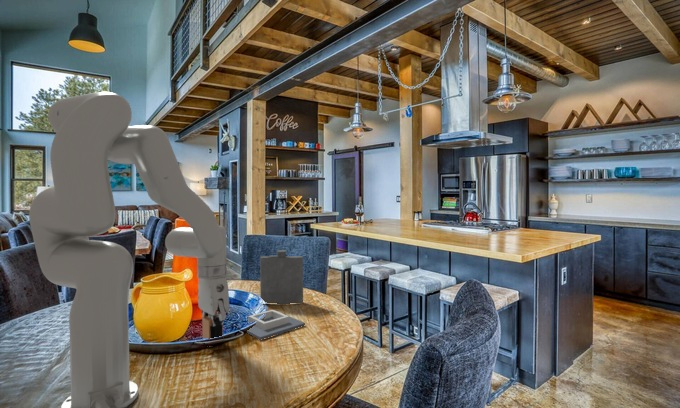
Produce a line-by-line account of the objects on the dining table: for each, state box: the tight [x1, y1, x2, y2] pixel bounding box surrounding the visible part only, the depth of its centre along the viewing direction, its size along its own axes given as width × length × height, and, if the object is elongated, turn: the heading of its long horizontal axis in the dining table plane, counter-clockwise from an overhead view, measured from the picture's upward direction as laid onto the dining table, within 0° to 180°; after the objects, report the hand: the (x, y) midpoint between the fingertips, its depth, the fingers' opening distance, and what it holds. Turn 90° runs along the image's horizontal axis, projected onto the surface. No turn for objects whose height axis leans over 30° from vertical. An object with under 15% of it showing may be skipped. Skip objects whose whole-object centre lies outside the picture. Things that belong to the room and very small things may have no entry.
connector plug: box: [201, 311, 224, 348], centre depth 97 cm, size 4×4×8 cm
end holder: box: [246, 309, 306, 341], centre depth 110 cm, size 16×16×3 cm
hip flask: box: [259, 249, 304, 304], centre depth 132 cm, size 16×4×20 cm, turn 92°
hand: (212, 336), depth 97 cm, fingers closed on connector plug, 4 cm apart
